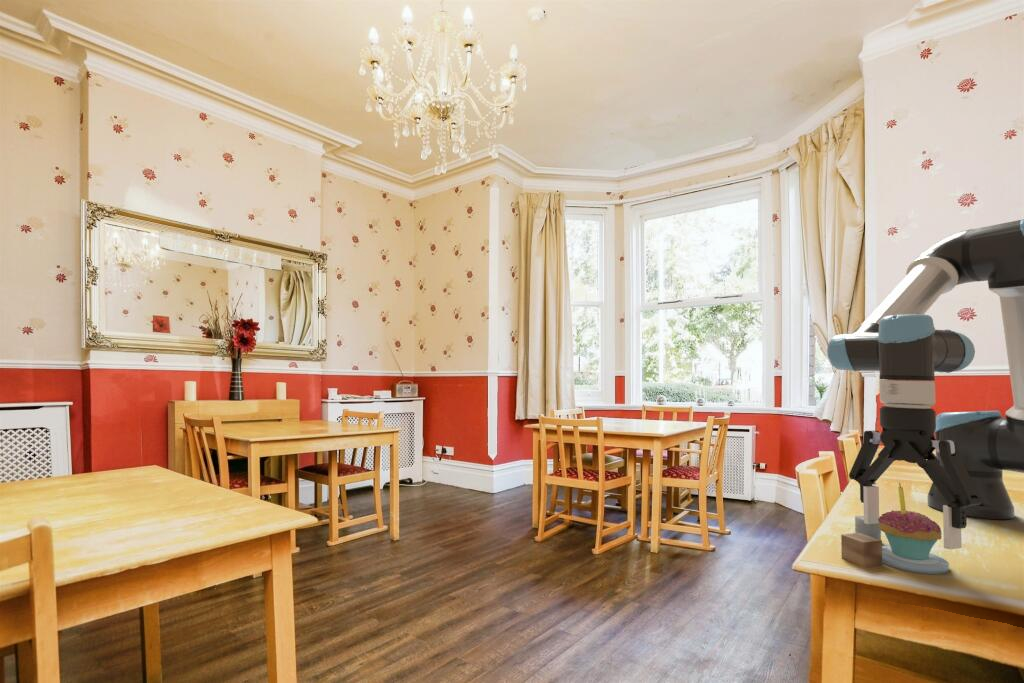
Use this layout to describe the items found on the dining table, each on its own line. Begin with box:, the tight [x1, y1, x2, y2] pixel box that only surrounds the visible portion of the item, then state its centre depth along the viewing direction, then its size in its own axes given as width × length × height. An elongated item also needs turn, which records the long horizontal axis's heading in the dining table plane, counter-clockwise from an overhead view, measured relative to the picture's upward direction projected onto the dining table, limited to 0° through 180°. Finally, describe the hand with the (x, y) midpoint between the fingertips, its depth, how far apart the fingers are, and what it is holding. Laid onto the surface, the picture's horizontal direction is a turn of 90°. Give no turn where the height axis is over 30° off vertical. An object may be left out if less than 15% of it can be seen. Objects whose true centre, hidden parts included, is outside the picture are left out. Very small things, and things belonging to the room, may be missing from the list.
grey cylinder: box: [854, 515, 882, 540], centre depth 97 cm, size 4×4×4 cm
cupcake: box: [878, 482, 942, 560], centre depth 87 cm, size 9×8×12 cm
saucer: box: [882, 545, 950, 575], centre depth 86 cm, size 10×10×1 cm
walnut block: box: [840, 533, 883, 568], centre depth 86 cm, size 4×4×4 cm
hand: (909, 534), depth 86 cm, fingers open, 12 cm apart
